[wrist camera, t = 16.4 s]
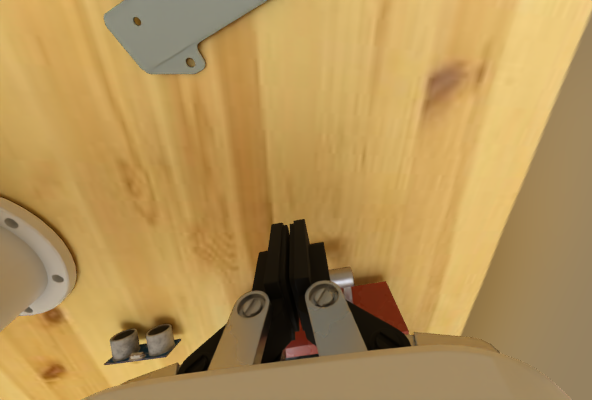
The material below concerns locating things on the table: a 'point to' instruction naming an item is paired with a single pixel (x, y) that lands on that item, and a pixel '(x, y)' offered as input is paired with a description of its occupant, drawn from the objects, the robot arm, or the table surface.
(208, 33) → the metal bracket
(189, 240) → the table surface
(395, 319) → the drawer
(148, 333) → the ultrasonic sensor
